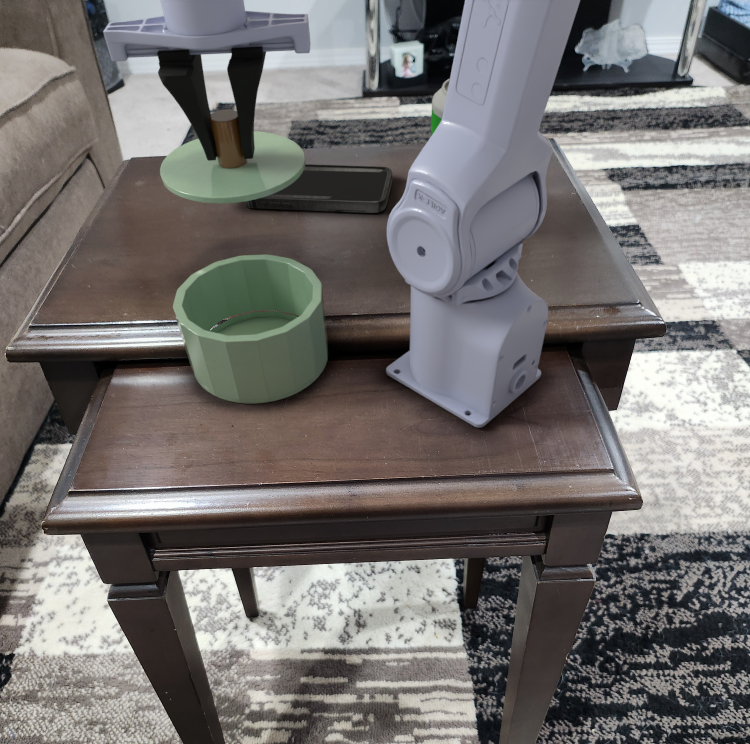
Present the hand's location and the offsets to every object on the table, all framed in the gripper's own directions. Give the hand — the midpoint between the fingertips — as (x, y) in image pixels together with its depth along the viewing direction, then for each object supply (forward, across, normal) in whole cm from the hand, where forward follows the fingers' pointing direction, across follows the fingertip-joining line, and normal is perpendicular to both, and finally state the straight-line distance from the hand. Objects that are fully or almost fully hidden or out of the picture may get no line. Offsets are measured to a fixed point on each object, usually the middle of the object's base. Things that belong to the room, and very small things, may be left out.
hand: (231, 154), depth 55 cm
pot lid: (+1, 0, 0) cm, 1 cm away
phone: (+10, -6, -13) cm, 18 cm away
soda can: (+10, -21, -7) cm, 24 cm away
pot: (+10, -2, +14) cm, 17 cm away
